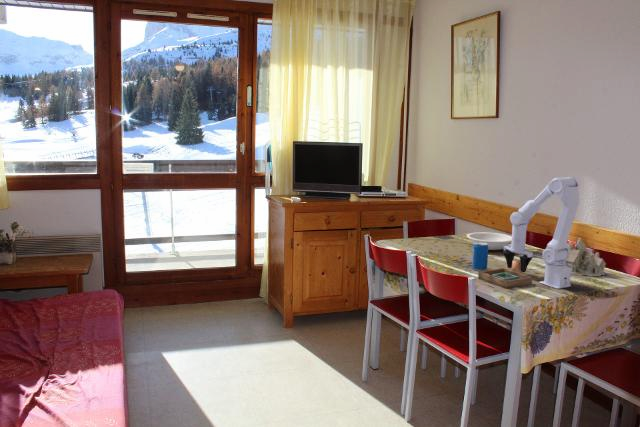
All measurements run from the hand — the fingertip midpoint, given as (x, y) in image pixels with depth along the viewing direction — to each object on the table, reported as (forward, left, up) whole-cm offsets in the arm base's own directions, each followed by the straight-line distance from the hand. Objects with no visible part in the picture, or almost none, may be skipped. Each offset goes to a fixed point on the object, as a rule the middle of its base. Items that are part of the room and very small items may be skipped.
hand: (516, 269), depth 243 cm
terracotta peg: (0, 0, -2) cm, 2 cm away
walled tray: (-6, +13, -2) cm, 14 cm away
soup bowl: (+42, -25, -2) cm, 49 cm away
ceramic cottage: (-10, -28, -2) cm, 30 cm away
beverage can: (+13, +9, -2) cm, 16 cm away
